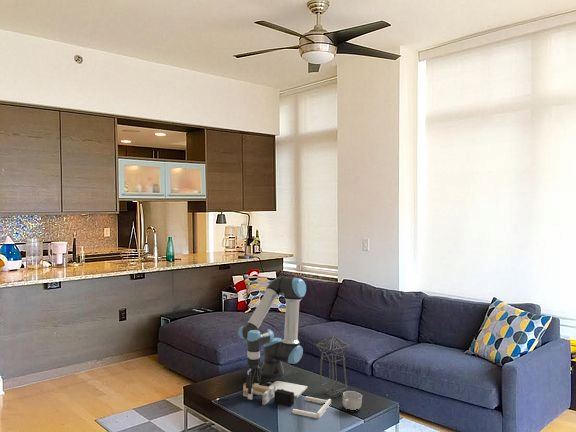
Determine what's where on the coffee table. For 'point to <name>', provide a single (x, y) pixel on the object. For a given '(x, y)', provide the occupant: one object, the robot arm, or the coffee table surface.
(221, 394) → the coffee table surface
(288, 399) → the digital camera
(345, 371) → the geometric lantern
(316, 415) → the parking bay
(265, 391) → the beige piece
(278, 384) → the rest board
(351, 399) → the teacup
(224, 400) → the coffee table surface
